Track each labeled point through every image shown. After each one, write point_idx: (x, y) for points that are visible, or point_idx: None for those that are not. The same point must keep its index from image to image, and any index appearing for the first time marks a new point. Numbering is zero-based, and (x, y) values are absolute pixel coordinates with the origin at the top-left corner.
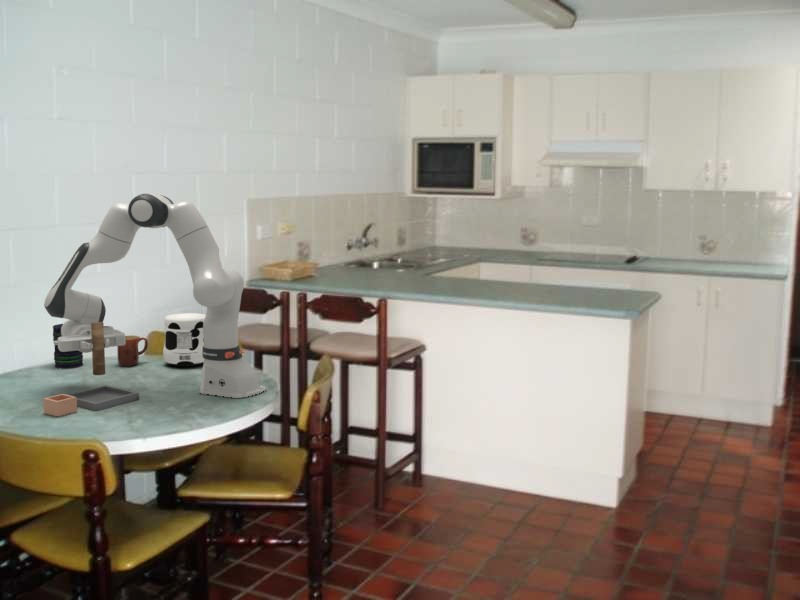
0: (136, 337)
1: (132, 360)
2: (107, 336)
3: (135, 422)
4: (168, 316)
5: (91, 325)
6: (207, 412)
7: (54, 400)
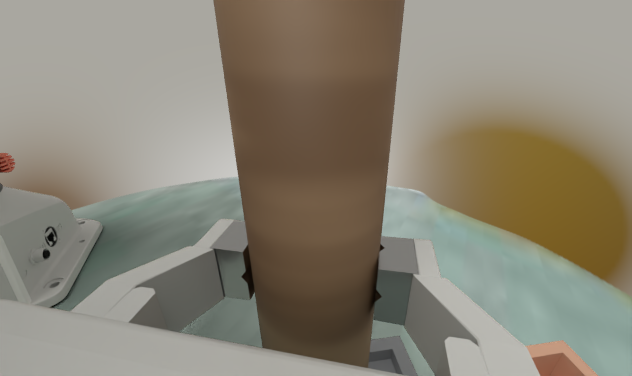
0: None
1: None
2: (36, 307)
3: None
4: None
5: (402, 7)
6: (222, 206)
7: (582, 368)
